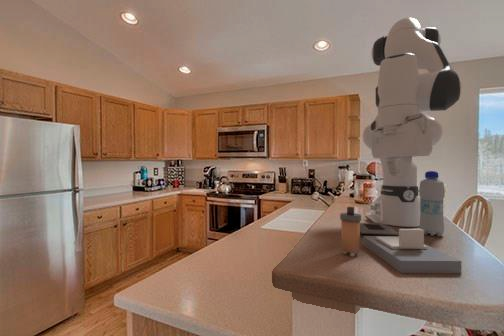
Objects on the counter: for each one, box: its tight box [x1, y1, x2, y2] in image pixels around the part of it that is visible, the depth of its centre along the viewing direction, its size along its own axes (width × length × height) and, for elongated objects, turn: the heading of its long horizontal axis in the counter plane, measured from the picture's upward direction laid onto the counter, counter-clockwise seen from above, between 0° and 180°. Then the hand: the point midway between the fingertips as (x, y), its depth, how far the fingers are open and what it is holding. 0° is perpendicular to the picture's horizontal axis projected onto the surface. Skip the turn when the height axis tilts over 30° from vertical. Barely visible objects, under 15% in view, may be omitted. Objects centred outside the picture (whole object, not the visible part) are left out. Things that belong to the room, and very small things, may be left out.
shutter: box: [376, 228, 429, 249], centre depth 61 cm, size 9×8×5 cm
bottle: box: [418, 170, 446, 237], centre depth 79 cm, size 7×7×20 cm
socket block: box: [362, 235, 462, 274], centre depth 59 cm, size 18×12×2 cm, turn 179°
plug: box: [339, 206, 362, 258], centre depth 62 cm, size 5×5×12 cm
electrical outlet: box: [360, 222, 399, 236], centre depth 81 cm, size 13×10×2 cm
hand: (397, 176), depth 62 cm, fingers open, 3 cm apart
